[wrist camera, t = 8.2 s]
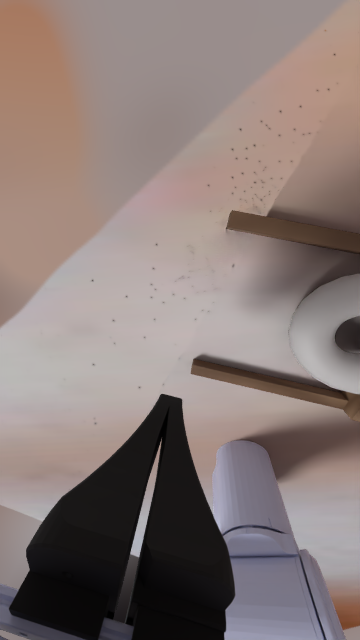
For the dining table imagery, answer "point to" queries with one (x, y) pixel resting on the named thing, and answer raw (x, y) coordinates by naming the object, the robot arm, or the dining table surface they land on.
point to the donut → (327, 333)
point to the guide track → (352, 404)
